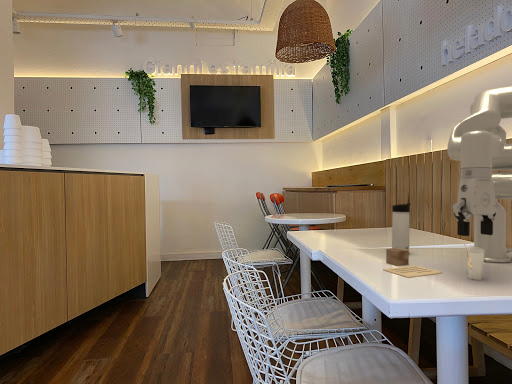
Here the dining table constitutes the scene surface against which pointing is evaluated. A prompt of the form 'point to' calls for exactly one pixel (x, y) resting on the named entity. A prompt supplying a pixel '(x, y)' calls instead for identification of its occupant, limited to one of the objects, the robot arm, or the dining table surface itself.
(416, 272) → the letter
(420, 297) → the dining table surface
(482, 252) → the milkshake
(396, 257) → the walnut block
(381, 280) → the dining table surface
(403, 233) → the travel mug
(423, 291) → the dining table surface
